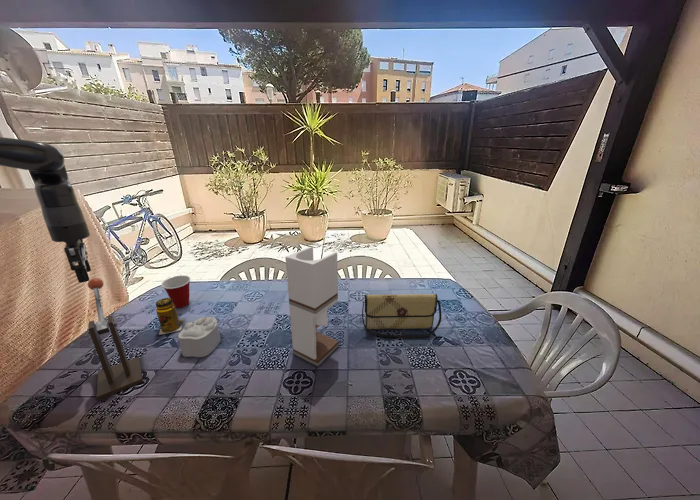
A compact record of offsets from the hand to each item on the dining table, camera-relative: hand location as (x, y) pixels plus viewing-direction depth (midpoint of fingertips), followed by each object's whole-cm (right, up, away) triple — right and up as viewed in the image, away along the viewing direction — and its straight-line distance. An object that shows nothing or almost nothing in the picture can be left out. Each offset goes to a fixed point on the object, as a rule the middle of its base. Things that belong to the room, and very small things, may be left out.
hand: (85, 276), depth 78 cm
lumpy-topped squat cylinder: (+25, -26, +17) cm, 40 cm away
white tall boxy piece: (+65, -27, +15) cm, 72 cm away
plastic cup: (+2, -17, +42) cm, 46 cm away
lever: (+3, -9, +2) cm, 10 cm away
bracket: (+8, -31, +3) cm, 32 cm away
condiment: (+7, -22, +27) cm, 36 cm away
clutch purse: (+96, -24, +24) cm, 102 cm away
